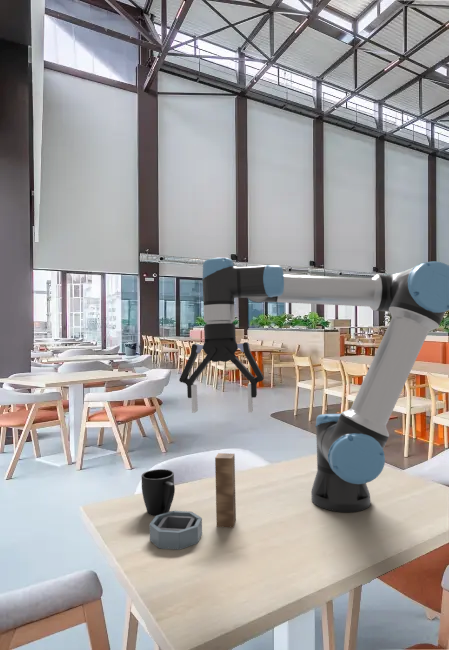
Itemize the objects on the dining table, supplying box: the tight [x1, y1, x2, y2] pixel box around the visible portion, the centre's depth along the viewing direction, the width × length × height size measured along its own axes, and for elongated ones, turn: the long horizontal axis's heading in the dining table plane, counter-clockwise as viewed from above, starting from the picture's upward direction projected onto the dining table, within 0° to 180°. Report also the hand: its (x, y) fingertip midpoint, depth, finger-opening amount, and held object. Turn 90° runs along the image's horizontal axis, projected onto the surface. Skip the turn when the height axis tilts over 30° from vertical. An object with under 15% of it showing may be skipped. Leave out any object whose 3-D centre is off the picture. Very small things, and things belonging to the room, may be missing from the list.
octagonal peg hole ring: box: [149, 510, 203, 551], centre depth 95 cm, size 11×11×4 cm
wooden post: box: [214, 452, 237, 529], centre depth 101 cm, size 4×4×16 cm
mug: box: [141, 469, 176, 517], centre depth 107 cm, size 8×12×10 cm
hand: (222, 411), depth 102 cm, fingers open, 13 cm apart
